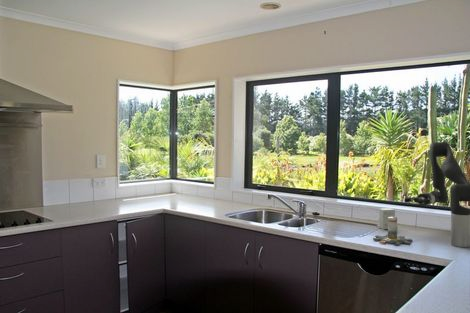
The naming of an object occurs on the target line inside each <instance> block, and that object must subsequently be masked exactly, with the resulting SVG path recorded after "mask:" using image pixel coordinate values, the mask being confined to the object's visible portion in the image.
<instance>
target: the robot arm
mask: <svg viewBox="0 0 470 313" xmlns="http://www.w3.org/2000/svg"><path fill="white" fill-rule="evenodd" d="M452 150H453V149H452V148H451V146H450V144H449V142H447V141H437V142H435V141H434V142H431V143H430V144H429V156H430V164H431V165H430V166H431V171H432V172H431V173H432V187H433V188H434V189H436V190H432V191H430V192H424V193H418V194H417V196H407V197H406V196H405V197H404V200H403V201H404V203H412V204H418V205H419V206H422V207H423V206H430V205H431V204H432V205H433V204H436V203H439V204H446V203H447V202H448V200H449V201H450V245H451V246H454V247H459V248H467V249H468V248H470V208H468V207H466V206H463V205H461V204H460V202H470V181H469V179H468V178H466V176H465V173H464V172H463V170H462V168H461V167H460V166H461V165H459V163H458V161H457V159H456V157H455V155H454V153H453V151H452ZM439 157H440V158H441V157H444V158H445V159H444V160H443V162H442V163H441V165H439V163H438V161H437V158H439ZM446 179H448V180H449V181H450V182H452V183H454V184H452V185H451V186H450V189H449V194H448V192H447V188H446ZM437 190H438V191H437ZM449 196H450V197H449ZM449 198H450V199H449Z"/></svg>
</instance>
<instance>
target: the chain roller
mask: <svg viewBox="0 0 470 313" xmlns="http://www.w3.org/2000/svg"><path fill="white" fill-rule="evenodd" d="M387 235H388V239H397V237H398V216H397V217H396V216H395V217H388V230H387Z"/></svg>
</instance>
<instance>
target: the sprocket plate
mask: <svg viewBox="0 0 470 313" xmlns="http://www.w3.org/2000/svg"><path fill="white" fill-rule="evenodd" d="M375 237H376V238H375ZM373 240H377V241H376V242H379V244H380V243H382V244H381V245H386V243H388V245H393V246H396V247H401V246H400V245H407V246H410V244H411V245H412V243H413V241H414V240H413V239H412V238H405V236H404V235H399V236H398V235H397V239H388V234H385V235H379V234H377V235H375V236H374V237H373V238H372V241H373Z"/></svg>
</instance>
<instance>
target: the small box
mask: <svg viewBox="0 0 470 313" xmlns="http://www.w3.org/2000/svg"><path fill="white" fill-rule="evenodd" d="M388 217H396V209H394V208H390V207H386V208H378V228H379V227H380V228H382V229H381V230H383V229H388ZM380 228H379V229H380Z"/></svg>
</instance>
